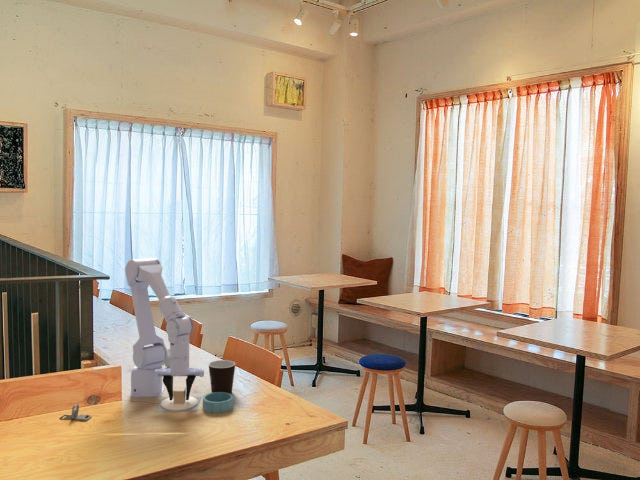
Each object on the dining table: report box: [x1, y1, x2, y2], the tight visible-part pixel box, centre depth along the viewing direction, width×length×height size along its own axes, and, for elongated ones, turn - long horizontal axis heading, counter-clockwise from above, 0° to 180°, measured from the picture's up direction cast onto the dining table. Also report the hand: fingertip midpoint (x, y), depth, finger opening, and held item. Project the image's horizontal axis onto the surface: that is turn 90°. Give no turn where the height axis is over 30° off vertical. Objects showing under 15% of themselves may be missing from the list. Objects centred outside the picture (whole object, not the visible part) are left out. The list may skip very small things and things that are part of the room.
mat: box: [155, 396, 202, 413], centre depth 171 cm, size 12×12×1 cm
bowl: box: [202, 392, 234, 414], centre depth 169 cm, size 9×9×4 cm
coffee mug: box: [208, 359, 236, 394], centre depth 183 cm, size 12×9×10 cm
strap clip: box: [58, 403, 92, 422], centre depth 160 cm, size 8×3×4 cm, turn 84°
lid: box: [160, 387, 198, 411], centre depth 171 cm, size 11×11×5 cm
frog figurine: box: [164, 348, 170, 368], centre depth 208 cm, size 6×7×7 cm
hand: (179, 399), depth 171 cm, fingers open, 4 cm apart
